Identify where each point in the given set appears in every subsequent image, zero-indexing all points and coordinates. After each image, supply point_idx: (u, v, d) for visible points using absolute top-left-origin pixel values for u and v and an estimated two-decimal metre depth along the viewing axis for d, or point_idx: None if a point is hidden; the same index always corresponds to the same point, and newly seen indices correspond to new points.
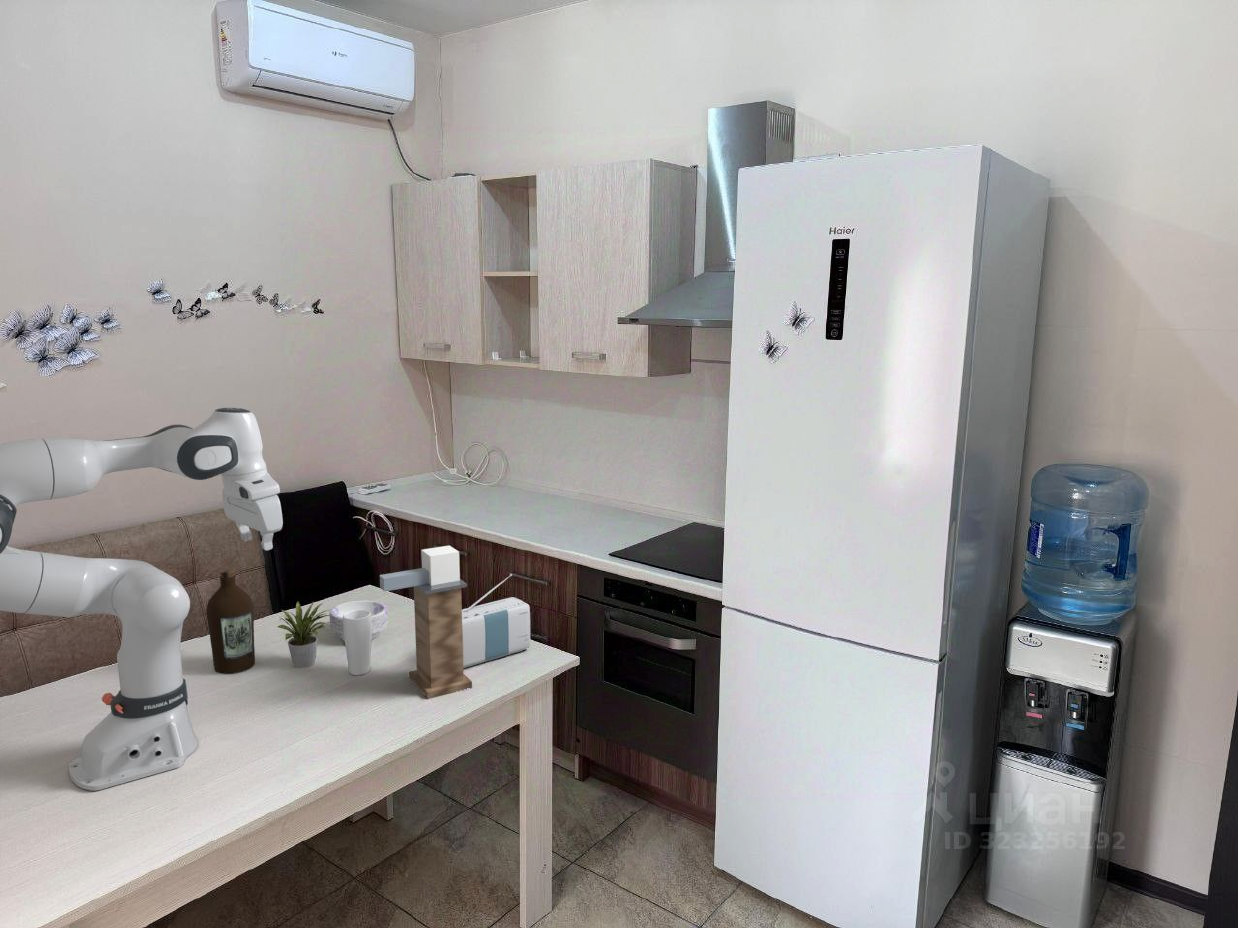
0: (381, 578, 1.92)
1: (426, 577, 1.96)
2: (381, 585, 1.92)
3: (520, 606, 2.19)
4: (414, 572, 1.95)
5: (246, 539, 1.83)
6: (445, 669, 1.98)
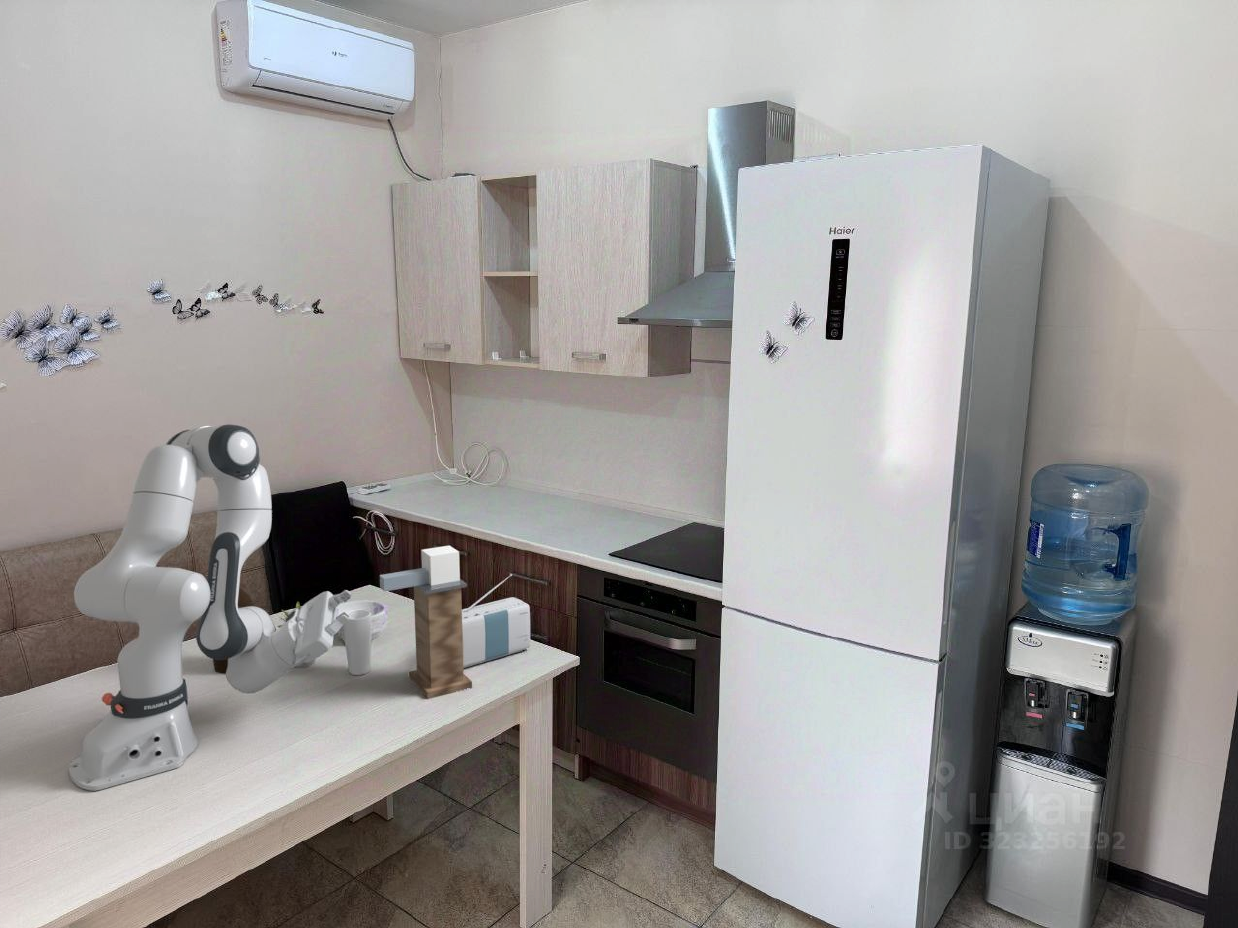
0: (381, 578, 1.92)
1: (426, 577, 1.96)
2: (381, 585, 1.92)
3: (520, 606, 2.19)
4: (414, 572, 1.95)
5: None
6: (445, 669, 1.98)
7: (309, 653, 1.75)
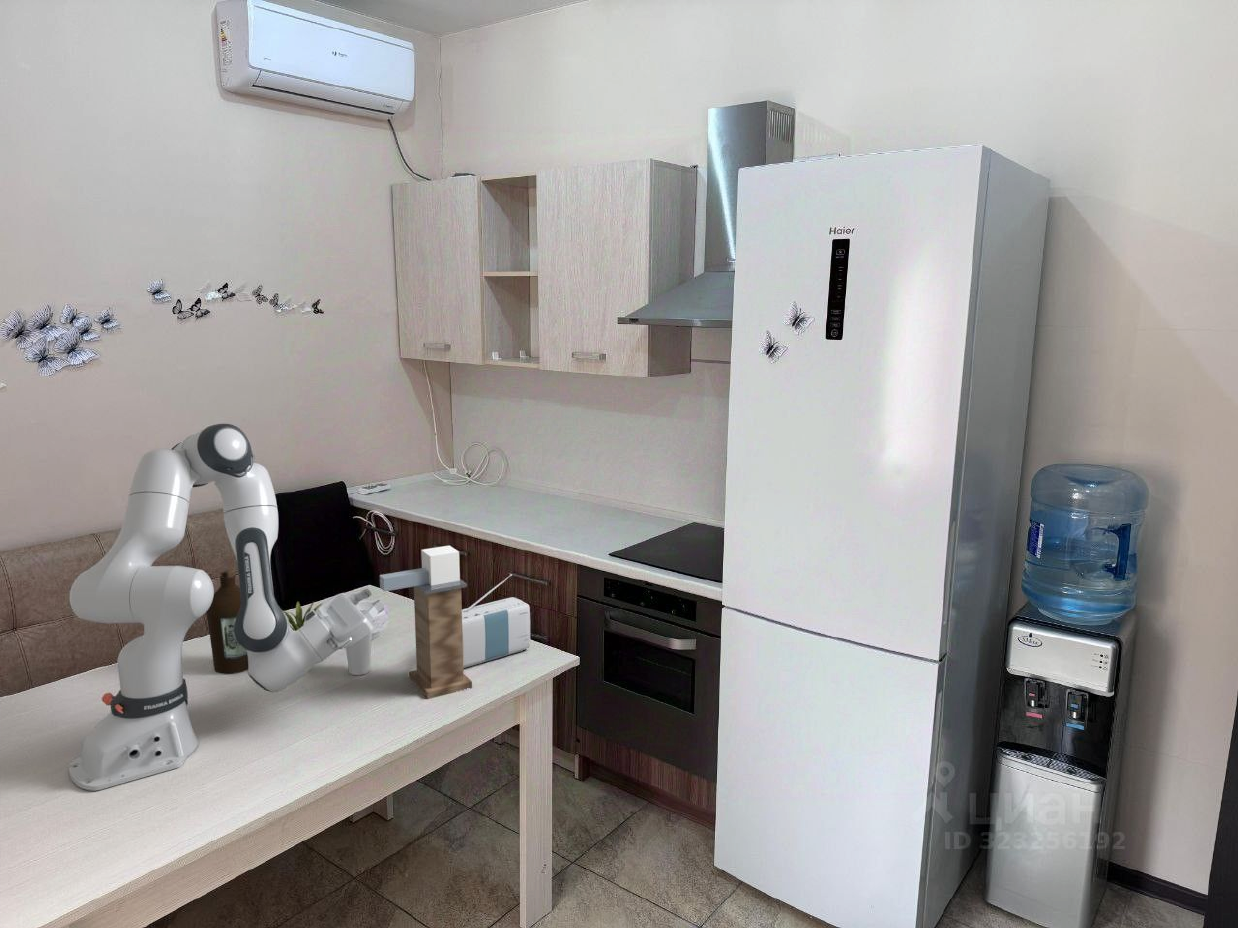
0: (381, 578, 1.92)
1: (426, 577, 1.96)
2: (381, 585, 1.92)
3: (520, 606, 2.19)
4: (414, 572, 1.95)
5: None
6: (445, 669, 1.98)
7: (352, 636, 1.80)
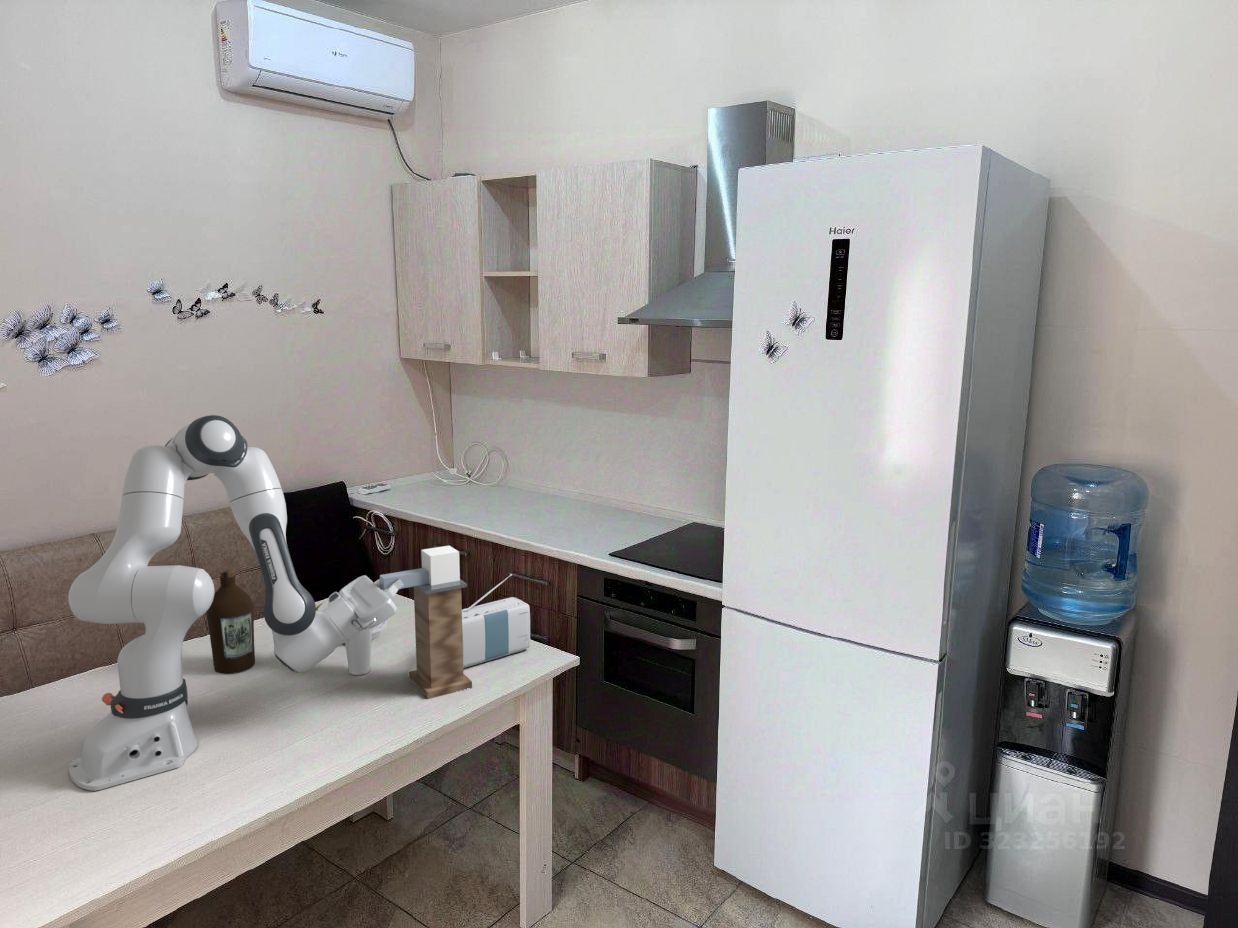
0: (381, 578, 1.92)
1: (426, 577, 1.96)
2: (381, 585, 1.92)
3: (520, 606, 2.19)
4: (414, 572, 1.95)
5: None
6: (445, 669, 1.98)
7: (377, 616, 1.82)
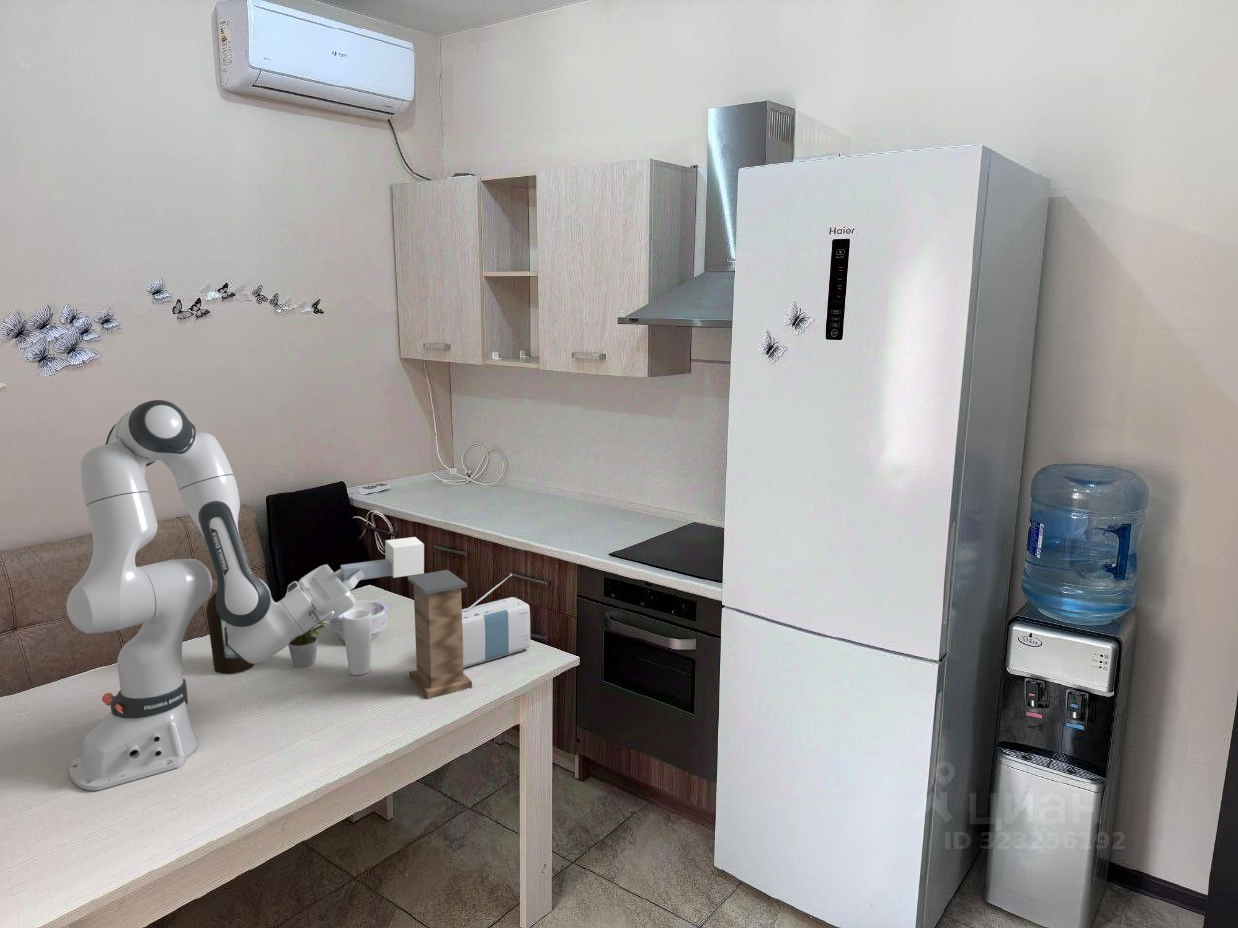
0: (342, 568, 1.86)
1: (389, 569, 1.90)
2: (341, 575, 1.87)
3: (520, 606, 2.19)
4: (376, 563, 1.89)
5: None
6: (445, 669, 1.98)
7: (334, 609, 1.77)
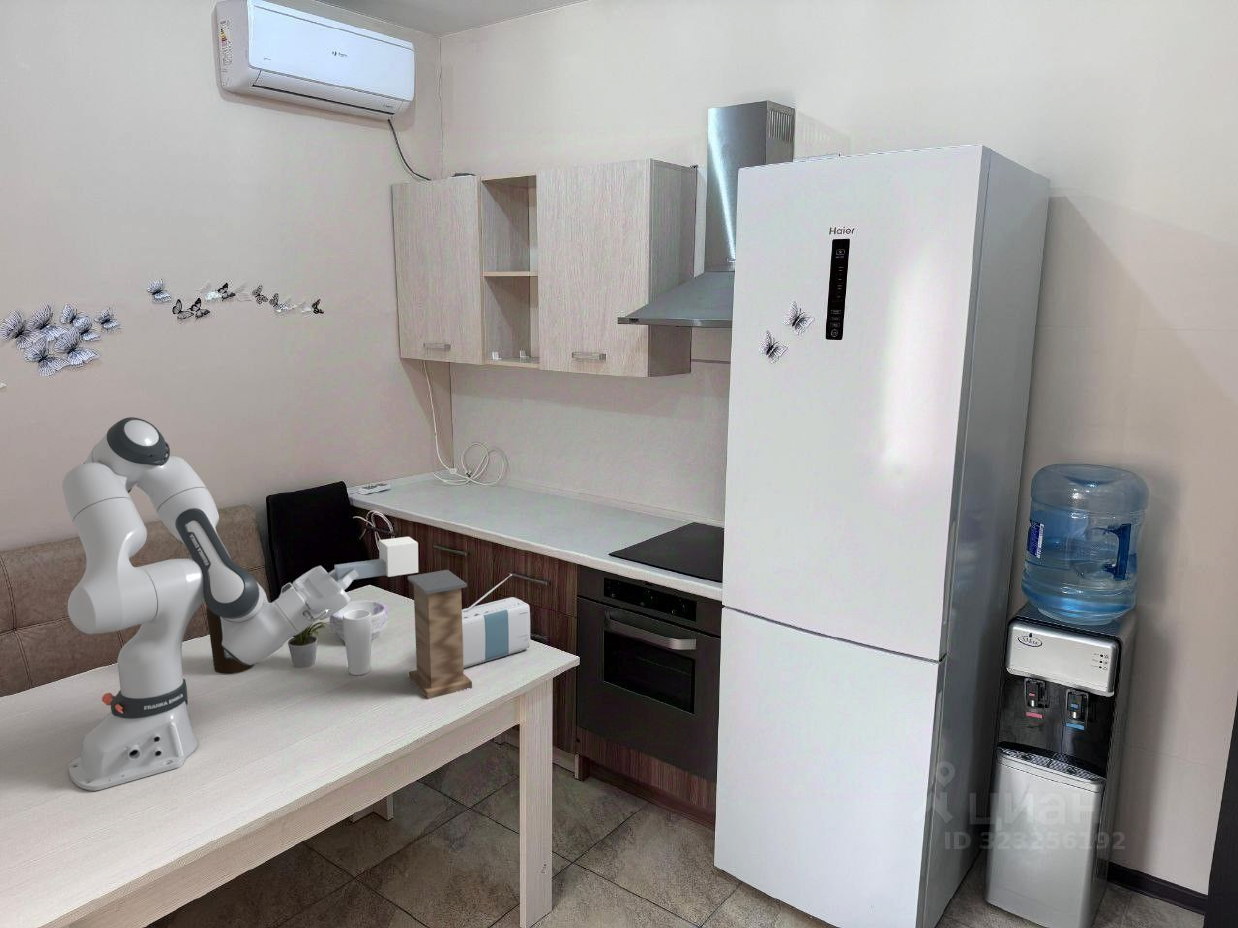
0: (336, 568, 1.86)
1: (383, 568, 1.90)
2: (335, 575, 1.86)
3: (520, 606, 2.19)
4: (370, 563, 1.89)
5: None
6: (445, 669, 1.98)
7: (328, 607, 1.76)
